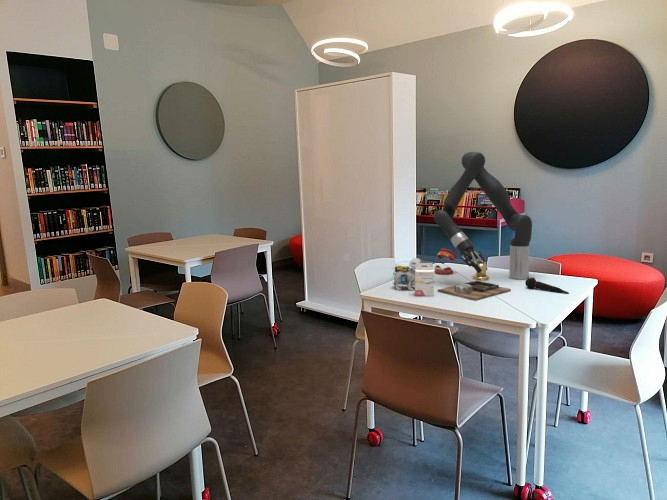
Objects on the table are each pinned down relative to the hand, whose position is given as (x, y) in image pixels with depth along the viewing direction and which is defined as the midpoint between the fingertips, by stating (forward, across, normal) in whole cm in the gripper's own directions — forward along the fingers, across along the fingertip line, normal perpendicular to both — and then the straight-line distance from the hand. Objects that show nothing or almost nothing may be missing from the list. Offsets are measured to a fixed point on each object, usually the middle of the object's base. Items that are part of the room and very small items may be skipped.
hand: (483, 271), depth 234 cm
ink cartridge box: (-4, -25, +18) cm, 31 cm away
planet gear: (+2, 0, +4) cm, 4 cm away
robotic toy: (-13, -20, +27) cm, 36 cm away
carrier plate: (+5, -4, +8) cm, 11 cm away
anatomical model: (-19, +20, +33) cm, 43 cm away
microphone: (+22, +20, -8) cm, 30 cm away
